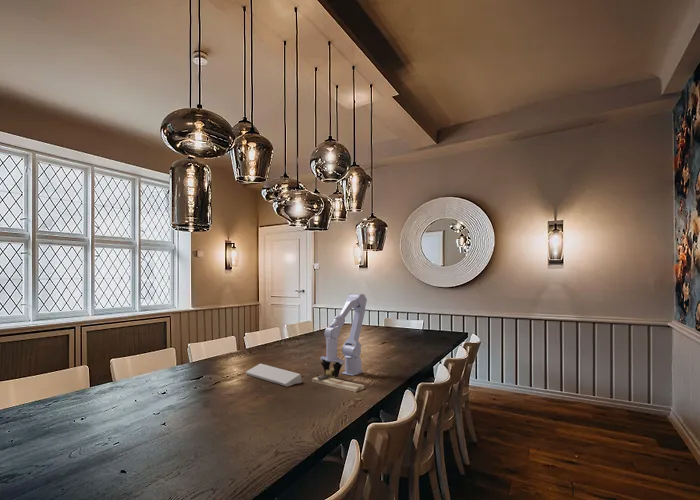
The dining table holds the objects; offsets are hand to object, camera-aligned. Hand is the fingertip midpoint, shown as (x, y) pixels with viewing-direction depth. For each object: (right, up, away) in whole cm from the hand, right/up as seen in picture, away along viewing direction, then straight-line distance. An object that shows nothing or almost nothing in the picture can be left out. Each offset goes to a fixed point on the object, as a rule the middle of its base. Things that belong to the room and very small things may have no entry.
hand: (331, 376), depth 197 cm
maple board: (+3, -1, -11) cm, 11 cm away
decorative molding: (-31, -2, +1) cm, 31 cm away
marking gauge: (-2, -1, -3) cm, 4 cm away
